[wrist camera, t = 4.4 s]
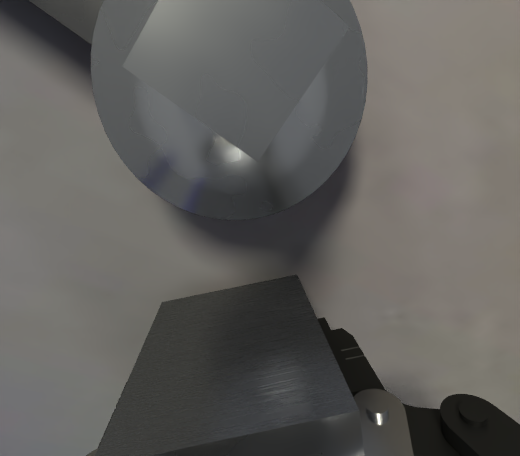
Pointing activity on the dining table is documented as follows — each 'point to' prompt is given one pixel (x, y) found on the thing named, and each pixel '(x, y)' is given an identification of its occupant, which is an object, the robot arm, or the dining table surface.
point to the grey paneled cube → (236, 381)
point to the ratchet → (225, 95)
